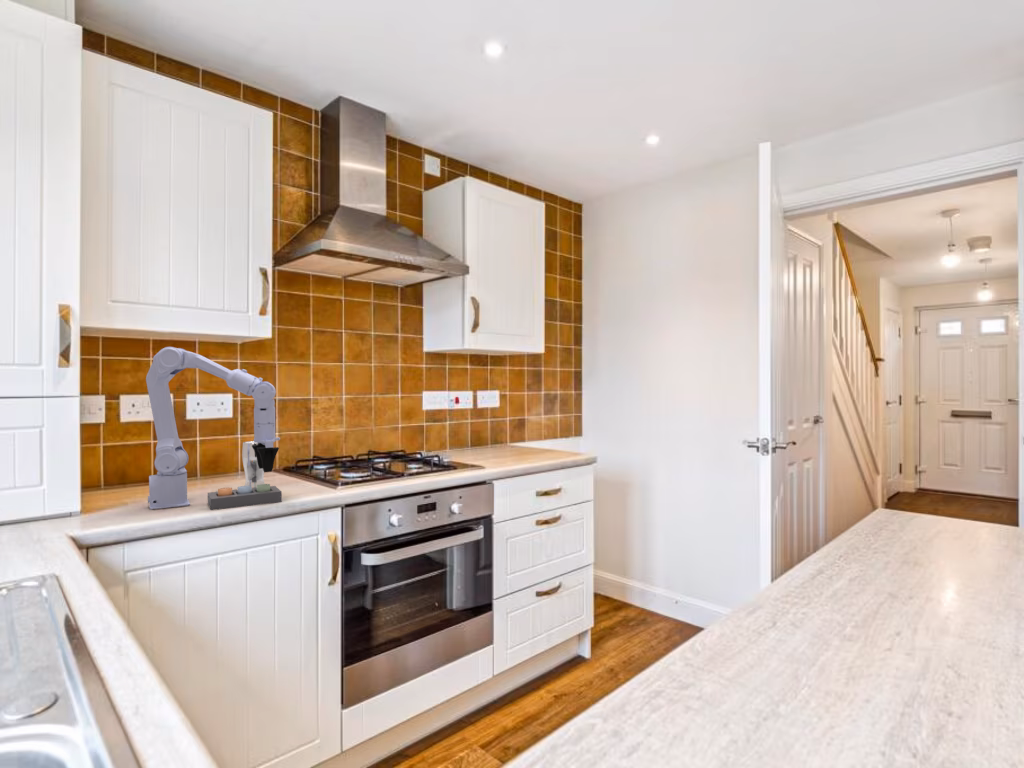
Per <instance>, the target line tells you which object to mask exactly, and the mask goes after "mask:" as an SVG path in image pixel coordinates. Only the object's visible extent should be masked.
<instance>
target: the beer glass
mask: <svg viewBox="0 0 1024 768" xmlns="http://www.w3.org/2000/svg"><path fill="white" fill-rule="evenodd" d="M252 445H258V443H257V442H254V440H249V441H243V442H242V452H241V453H242V454H241V456H242V457H241V458H242V465H243V470H244V477H245V484H244V486H252V488H257V485H259V484H266V483H265V479H264V477H265V472H264V471H263V468H262V469H259V466H258V462H257V457H256V454H255V451H254V449H253V447H252Z"/></svg>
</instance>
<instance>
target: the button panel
mask: <svg viewBox="0 0 1024 768" xmlns="http://www.w3.org/2000/svg"><path fill="white" fill-rule="evenodd" d="M282 497H283V496H282V490H281V489H279V487H277V486H276V485H270V491H264V492H257V488H252V493H245V494H238V489H232V495H226V496H218V491H211V492H207V505H208V507H209V509H210V511H214V510H213V509H217V510H222V509H223V510H225V509H231V508H232V509H233V508H241V507H249V506H250V507H251V506H256V505H267V504H274V503H282V502H283V499H282Z"/></svg>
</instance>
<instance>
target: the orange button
mask: <svg viewBox="0 0 1024 768" xmlns="http://www.w3.org/2000/svg"><path fill="white" fill-rule="evenodd" d="M232 490H233V487H221V488H220V487H219V488H217V492H218V496H226V495H232Z"/></svg>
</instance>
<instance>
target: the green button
mask: <svg viewBox="0 0 1024 768" xmlns="http://www.w3.org/2000/svg"><path fill="white" fill-rule="evenodd" d="M270 486H271V484H270V483H265V484H259V485H257V492H264V491H270Z"/></svg>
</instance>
